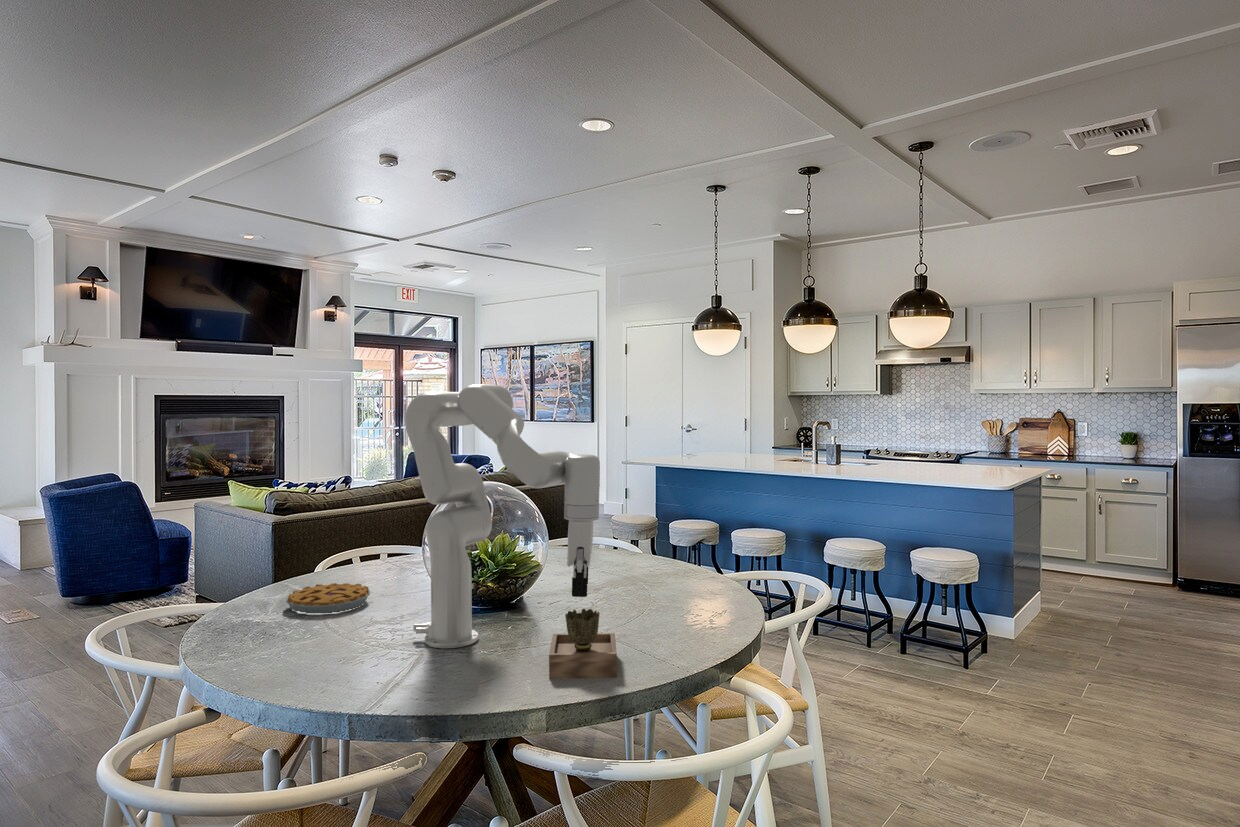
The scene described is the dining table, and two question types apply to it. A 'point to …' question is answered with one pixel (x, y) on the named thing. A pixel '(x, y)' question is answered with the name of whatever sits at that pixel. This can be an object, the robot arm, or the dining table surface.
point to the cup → (582, 628)
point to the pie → (328, 598)
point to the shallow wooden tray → (583, 658)
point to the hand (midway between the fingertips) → (580, 590)
